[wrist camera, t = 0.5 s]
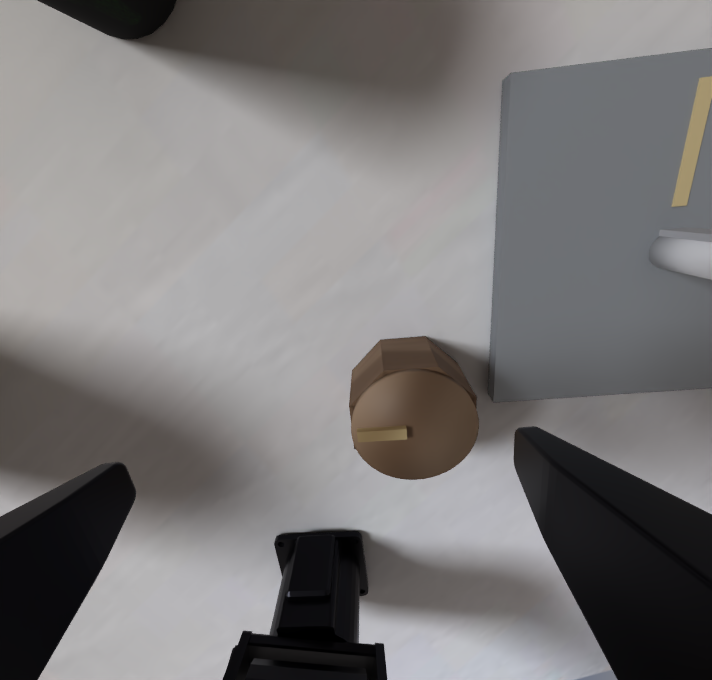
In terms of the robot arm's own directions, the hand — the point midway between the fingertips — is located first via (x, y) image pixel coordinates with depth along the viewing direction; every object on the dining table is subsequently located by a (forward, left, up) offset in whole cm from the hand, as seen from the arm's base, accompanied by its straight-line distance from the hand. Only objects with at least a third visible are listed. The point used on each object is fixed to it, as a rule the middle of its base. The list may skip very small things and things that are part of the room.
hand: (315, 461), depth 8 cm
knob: (-5, -3, -13) cm, 14 cm away
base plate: (+2, -16, -13) cm, 20 cm away
